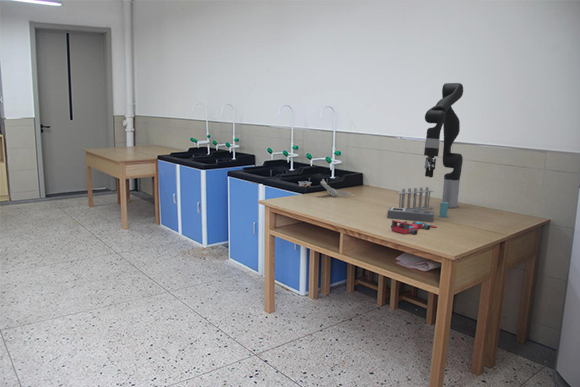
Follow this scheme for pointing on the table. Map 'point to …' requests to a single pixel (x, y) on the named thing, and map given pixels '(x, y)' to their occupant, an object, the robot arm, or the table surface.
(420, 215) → the power strip
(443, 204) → the block
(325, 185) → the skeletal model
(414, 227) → the race car
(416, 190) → the test tube rack
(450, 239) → the table surface
